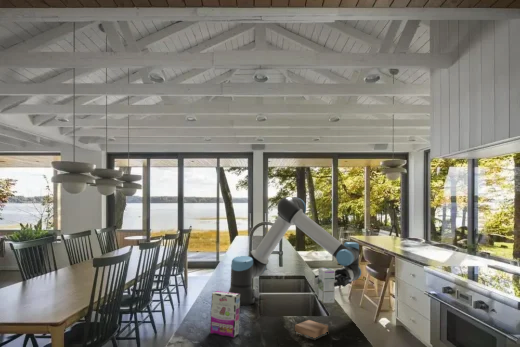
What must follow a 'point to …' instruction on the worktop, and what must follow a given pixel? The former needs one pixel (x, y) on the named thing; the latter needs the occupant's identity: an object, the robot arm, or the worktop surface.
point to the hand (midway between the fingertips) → (321, 283)
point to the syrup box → (326, 285)
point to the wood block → (311, 328)
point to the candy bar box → (225, 313)
